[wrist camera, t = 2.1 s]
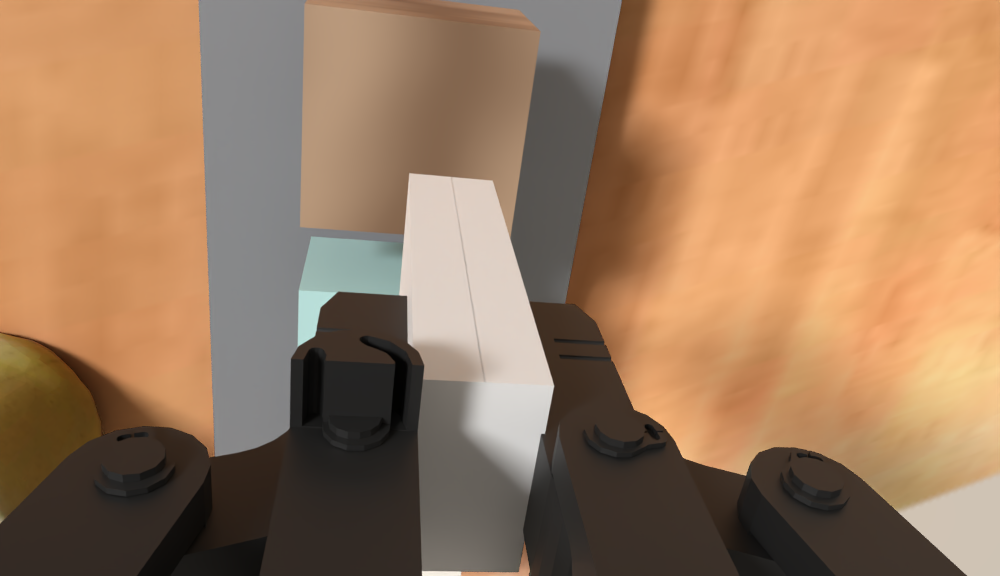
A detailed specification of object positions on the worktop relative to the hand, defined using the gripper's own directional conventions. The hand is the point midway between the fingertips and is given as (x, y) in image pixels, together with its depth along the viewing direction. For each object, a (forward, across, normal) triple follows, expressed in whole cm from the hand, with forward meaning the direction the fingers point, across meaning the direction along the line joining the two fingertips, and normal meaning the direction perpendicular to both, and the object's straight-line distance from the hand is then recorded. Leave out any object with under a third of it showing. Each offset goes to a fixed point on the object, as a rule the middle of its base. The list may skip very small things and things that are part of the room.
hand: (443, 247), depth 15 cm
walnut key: (+12, 0, 0) cm, 12 cm away
